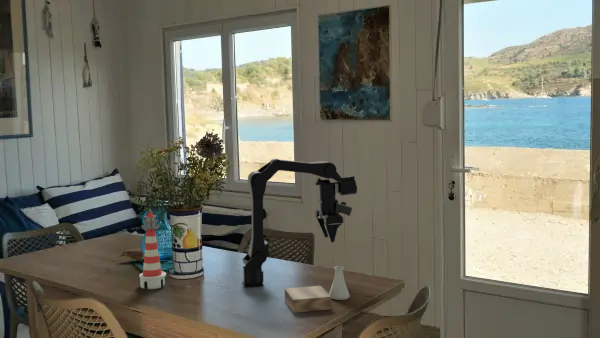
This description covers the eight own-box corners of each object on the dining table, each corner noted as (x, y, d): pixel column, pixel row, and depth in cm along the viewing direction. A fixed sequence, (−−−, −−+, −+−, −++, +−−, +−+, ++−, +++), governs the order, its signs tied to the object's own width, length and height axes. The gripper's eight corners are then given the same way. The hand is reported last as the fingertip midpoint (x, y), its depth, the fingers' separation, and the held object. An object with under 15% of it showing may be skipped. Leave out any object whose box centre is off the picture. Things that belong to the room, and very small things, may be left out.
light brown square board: (293, 312, 187) (293, 299, 187) (284, 300, 199) (284, 288, 198) (331, 309, 190) (331, 296, 190) (320, 297, 202) (320, 285, 201)
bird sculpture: (180, 260, 252) (180, 248, 251) (117, 264, 247) (116, 252, 246) (180, 256, 258) (180, 245, 258) (118, 260, 253) (118, 248, 253)
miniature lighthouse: (171, 283, 220) (168, 199, 217) (157, 290, 211) (154, 203, 208) (149, 281, 223) (146, 198, 220) (134, 288, 214) (130, 202, 211)
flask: (348, 301, 198) (348, 270, 197) (326, 300, 199) (326, 269, 198) (351, 294, 205) (351, 265, 204) (329, 293, 206) (329, 264, 205)
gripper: (356, 198, 213) (358, 242, 214) (342, 192, 231) (344, 233, 232) (325, 200, 211) (327, 245, 212) (313, 194, 229) (315, 235, 230)
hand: (329, 239), depth 222 cm, fingers open, 9 cm apart
